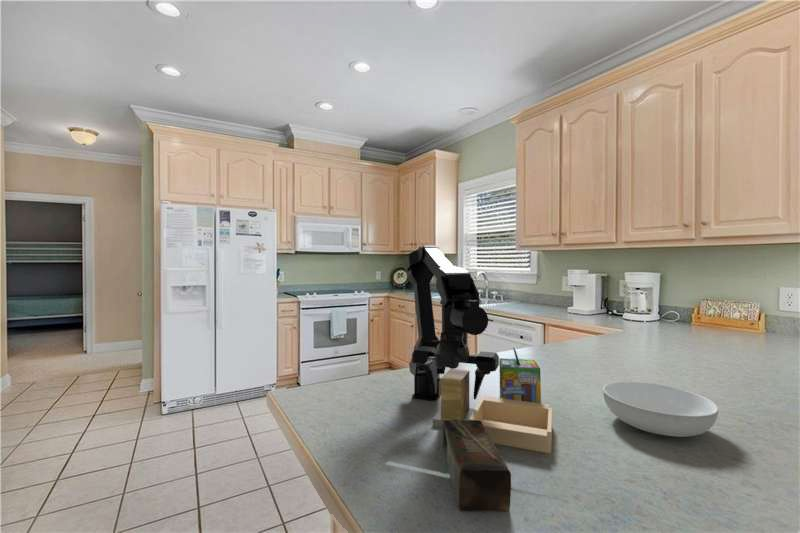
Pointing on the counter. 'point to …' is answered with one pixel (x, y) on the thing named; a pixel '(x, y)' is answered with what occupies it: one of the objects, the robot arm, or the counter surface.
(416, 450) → the counter surface
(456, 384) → the brown wooden block
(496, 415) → the wooden tray
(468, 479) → the beverage carton
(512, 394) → the chalk box
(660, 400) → the serving bowl
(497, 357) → the robot arm
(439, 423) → the trivet
